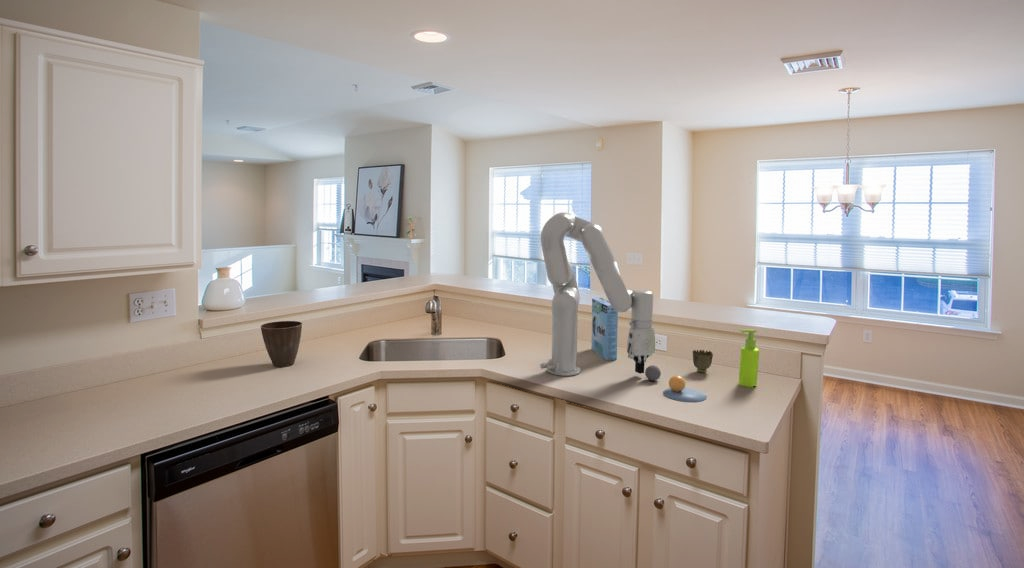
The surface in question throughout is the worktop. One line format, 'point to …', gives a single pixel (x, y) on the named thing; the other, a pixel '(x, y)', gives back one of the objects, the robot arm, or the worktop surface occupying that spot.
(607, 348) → the gum box
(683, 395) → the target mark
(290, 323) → the plant pot
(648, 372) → the grey sphere
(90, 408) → the worktop surface
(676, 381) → the object ball
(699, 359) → the cup
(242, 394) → the worktop surface
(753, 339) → the soap dispenser
